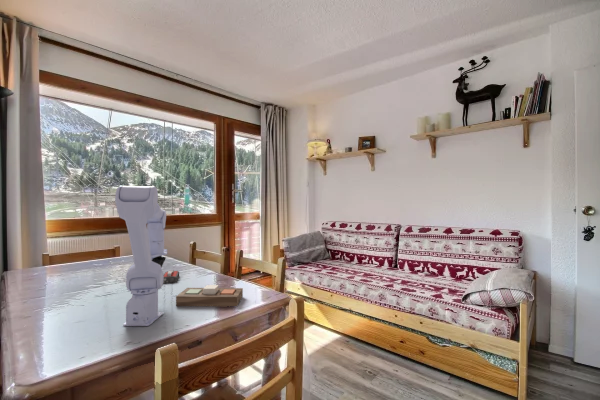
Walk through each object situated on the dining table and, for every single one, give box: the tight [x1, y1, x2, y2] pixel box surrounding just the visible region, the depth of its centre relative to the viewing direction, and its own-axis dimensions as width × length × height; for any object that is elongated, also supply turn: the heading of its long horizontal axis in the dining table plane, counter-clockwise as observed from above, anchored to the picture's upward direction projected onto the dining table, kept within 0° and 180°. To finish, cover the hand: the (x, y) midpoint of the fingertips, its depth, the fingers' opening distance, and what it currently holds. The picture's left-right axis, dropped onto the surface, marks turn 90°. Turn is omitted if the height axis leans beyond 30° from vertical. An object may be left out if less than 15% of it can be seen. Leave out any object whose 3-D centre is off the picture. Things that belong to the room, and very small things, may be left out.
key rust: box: [221, 289, 235, 295], centre depth 108 cm, size 4×4×2 cm
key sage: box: [186, 289, 202, 294], centre depth 108 cm, size 4×4×2 cm
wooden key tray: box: [175, 287, 244, 308], centre depth 108 cm, size 10×22×4 cm, turn 90°
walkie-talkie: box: [163, 269, 180, 284], centre depth 133 cm, size 9×4×20 cm
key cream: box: [202, 284, 219, 295], centre depth 108 cm, size 4×4×2 cm
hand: (155, 277), depth 106 cm, fingers closed
